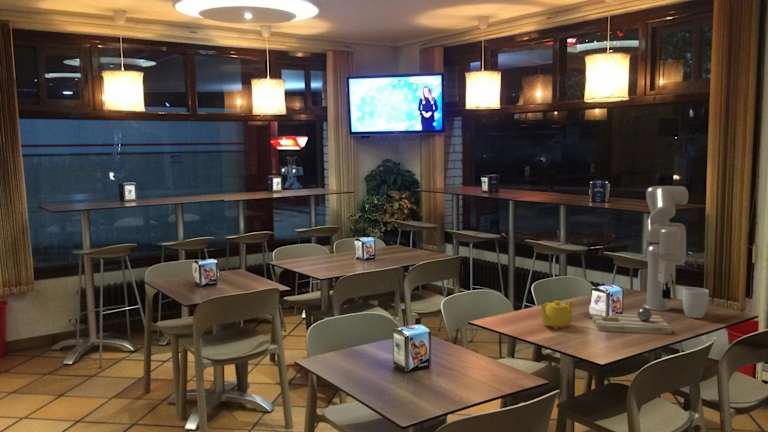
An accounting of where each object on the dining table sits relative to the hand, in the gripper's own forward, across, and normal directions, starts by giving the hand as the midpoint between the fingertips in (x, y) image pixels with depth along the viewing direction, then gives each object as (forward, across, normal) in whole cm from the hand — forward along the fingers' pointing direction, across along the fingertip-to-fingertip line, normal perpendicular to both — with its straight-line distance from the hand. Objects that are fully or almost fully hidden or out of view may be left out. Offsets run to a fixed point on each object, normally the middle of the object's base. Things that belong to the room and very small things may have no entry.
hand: (666, 298), depth 287 cm
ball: (+8, -2, -8) cm, 12 cm away
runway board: (+13, -2, -14) cm, 20 cm away
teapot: (+14, +3, -47) cm, 50 cm away
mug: (+13, -23, +20) cm, 33 cm away
